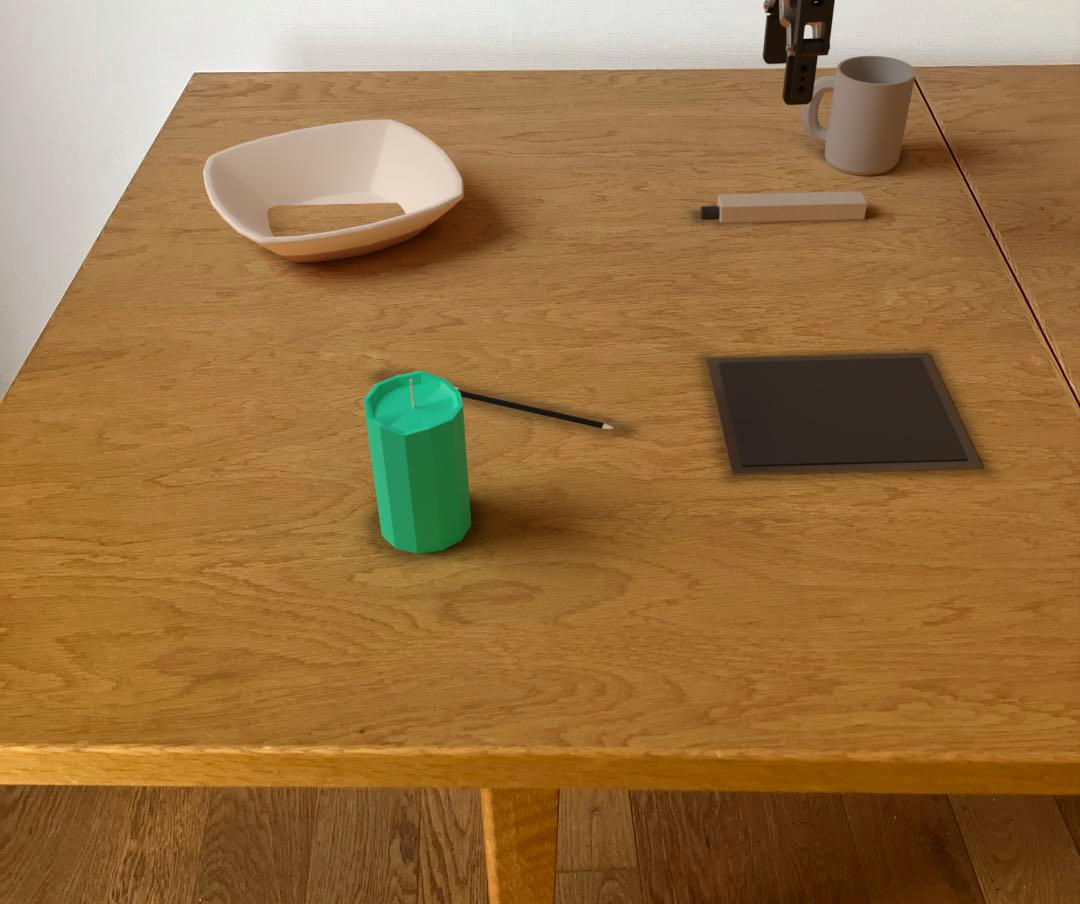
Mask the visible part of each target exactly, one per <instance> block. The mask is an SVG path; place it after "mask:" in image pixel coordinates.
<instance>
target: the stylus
mask: <svg viewBox="0 0 1080 904" xmlns="http://www.w3.org/2000/svg"><path fill="white" fill-rule="evenodd" d="M867 207H868V202H867V200H866V198H865V196H864V194H863V192H862V191H861V190H857V191H856V190H851V191H850V190H849V191H848V190H847V191H846V190H845V191H813V192H812V191H805V192H774V193H772V192H771V193H766V192H765V193H739V194H738V193H733V194H729V193H727V194H717V203H716V205H702V206H700V208H699V209H700V210H699V216H700V219H701V220H719V223H757V222H758V223H759V222H760V223H761V222H799V221H800V222H801V221H802V222H803V221H805V222H806V221H840V220H841V221H843V220H865V218H866V212H867Z"/></svg>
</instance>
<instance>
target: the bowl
mask: <svg viewBox="0 0 1080 904" xmlns="http://www.w3.org/2000/svg"><path fill="white" fill-rule="evenodd" d="M459 171H460V170H459V169H458V167H457V166H456V164H455V163H454V161H453V160H452V159H451V158H450V156H449V155H448V154H447V152H446V151H445V150H443V149H442V147H440V146H439V145H438V144H436V143H435V142H434V141H433V140H431V139H430V138H428V137H427V136H426V135H424V134H423V133H422V132H419V131H418V130H417V129H415V128H414V127H411V126H409V125H407V124H404V123H401V122H399V121H397V120H395V119H390V118H387V119H386V118H385V119H360V120H351V121H345V122H344V121H343V122H336V123H329V124H324V125H316V126H312V127H305V128H300V129H299V128H298V129H294V130H290V131H286V132H282V133H278V134H273V135H269V136H263V137H260V138H257V139H253V140H250V141H246V142H243V143H239V144H236V145H233V146H230V147H228V148H225V149H222V150H221V151H218V152H215V153H213V154H211V155H209V156H208V158H207V159H206V161H205V165H204V168H203V172H202V175H203V180H204V182H203V183H204V186H205V191H206V193H207V196H208V198H209V201H210V204H211V205H212V207H213V208H214V209H215V211H216V212H217V213H218V214H219V216H220V217H221V218H222V219H223V220H224V221H225V222H226V223H227V224H228V225H229V226H230V227H231V228H233V229H234V230H235V231H236V232H237V233H238V234H239V235H242V236H243V237H244V238H247V239H248V240H251V241H252V242H254V243H256V244H258V245H259V246H261V247H263V248H265V249H267V250H269V251H271V252H273V253H274V254H277V255H279V256H280V257H282V258H284V259H286V260H288V261H290V262H293V263H297V264H307V263H309V264H310V263H320V262H327V261H335V260H343V259H347V258H353V257H357V256H363V255H366V254H370V253H374V252H377V251H380V250H385V249H387V248H390V247H393V246H396V245H399V244H401V243H404V242H407V241H409V240H411V239H413V238H415V237H417V236H418V235H420V234H421V233H422V232H423V231H424V230H426V229H427V228H428V227H429V226H431V225H432V224H433V223H434V222H436V221H437V220H438V219H440V218H441V217H443V215H444V214H446V213H447V212H448V211H450V210H451V209H452V208H453V207H454V206H456V205H457V204H458V203H459V202H460V201H461V200H463V199H464V197H465V192H464V191H465V189H464V188H465V186H464V184H465V183H464V178H463V177H462V175H461V173H460V172H459ZM361 204H363V205H365V204H398V205H399V206H400V207H401V209H402V210H403V212H404V213H405V214H402V215H398V216H394V217H391V218H387V219H384V220H379V221H375V222H371V223H367V224H361V225H357V226H352V227H347V228H341V229H336V230H331V231H323V232H316V233H315V232H314V233H308V234H302V235H284V236H282V235H281V236H274V234H273V232H272V229H271V228H270V222H269V217H268V213H269V210H270V209H272V208H274V207H279V206H280V207H281V206H282V207H283V206H316V205H317V206H319V205H320V206H321V205H323V206H324V205H325V206H326V205H361Z"/></svg>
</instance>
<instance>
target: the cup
mask: <svg viewBox="0 0 1080 904" xmlns="http://www.w3.org/2000/svg"><path fill="white" fill-rule="evenodd" d="M915 79H916V70H915V68H914V67H913V66H912V65H911V64H909V63H908V62H906V61H903V60H901V59H898V58H894V57H889V56H884V55H883V56H882V55H859V56H852V57H849V58H845V59H844V60H842V61H840V62H839V63H838V64H837V65H836V72H835V75H833V74H831V75H830V74H828V75H823V76H820V77H818V78H817V79H815V83H814V90H813V98H812V101H811V102H810V103H809V104H804V105H801V111H800V114H801V124H802V127H803V130H804V133H805V134H806V135H807V136H808V137H809V139H810V140H811V141H813V142H815V143H817V144H819V145H823V146H824V158H825V160H826V162H827V164H828V165H829V166H830V167H831V168H833V169H834V170H836V171H839V172H842V173H845V174H849V175H854V176H862V177H863V176H864V177H866V176H879V175H883V174H885V173H888V172H890V171H891V170H892V169H894V168H895V166H896V165H897V164H898V163H899V159H900V156H901V151H902V146H903V141H904V135H905V130H906V125H907V119H908V115H909V110H910V106H911V105H910V104H911V99H912V94H913V90H914V84H915ZM826 93H832V98H831V106H830V112H829V119H828V125H827V127H823V126H822V125H820V122H819V108H820V103H821V101H822V98H823V96H824V95H825V94H826Z"/></svg>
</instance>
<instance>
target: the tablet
mask: <svg viewBox="0 0 1080 904" xmlns="http://www.w3.org/2000/svg"><path fill="white" fill-rule="evenodd" d="M705 361H706V366H707V370H708V374H709V375H708V376H709V378H710V383H711V389H712V392H713V396H714V402H715V406H716V410H717V414H718V420H719V424H720V428H721V433H722V437H723V443H724V446H725V451H726V455H727V460H728V464H729V469H730V473H731V476H762V475H763V476H764V475H765V476H766V475H767V476H768V475H801V474H802V475H803V474H805V475H806V474H808V475H809V474H840V473H841V474H843V473H883V472H884V473H885V472H919V471H920V472H921V471H960V470H983V469H984V467H983V465H982V462H981V461H980V458H979V456H978V455H977V452H976V450H975V448H974V446H973V444H972V441H971V439H970V437H969V434H968V432H967V430H966V428H965V427H964V424H963V422H962V420H961V418H960V416H959V413H958V412H957V409H956V408H955V405H954V403H953V401H952V399H951V397H950V395H949V393H948V391H947V388H946V386H945V384H944V382H943V380H942V378H941V376H940V373H939V371H938V370H937V369H938V368H936V365H935V363H934V361H933V359H932V357H931V355H930V353H929V352H906V353H904V352H903V353H901V352H899V353H864V354H863V353H861V354H859V353H858V354H823V355H822V354H821V355H820V354H819V355H782V356H781V355H780V356H777V355H776V356H743V357H741V356H740V357H739V356H738V357H706V358H705Z"/></svg>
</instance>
